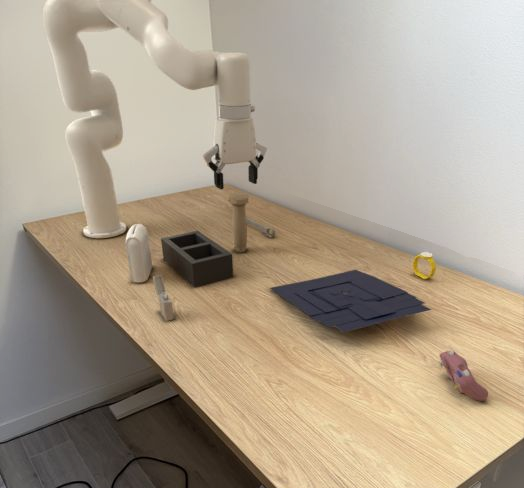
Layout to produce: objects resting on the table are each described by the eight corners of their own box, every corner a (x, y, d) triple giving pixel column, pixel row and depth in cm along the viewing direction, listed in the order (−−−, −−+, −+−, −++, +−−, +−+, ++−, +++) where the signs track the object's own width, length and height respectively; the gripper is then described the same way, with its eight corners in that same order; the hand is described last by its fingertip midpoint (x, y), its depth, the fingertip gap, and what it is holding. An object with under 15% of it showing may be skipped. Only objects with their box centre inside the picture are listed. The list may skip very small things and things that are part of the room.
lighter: (174, 319, 109) (169, 285, 105) (166, 321, 108) (161, 286, 104) (164, 305, 114) (159, 272, 110) (156, 306, 114) (152, 273, 110)
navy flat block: (335, 347, 96) (335, 330, 94) (269, 299, 121) (268, 284, 119) (438, 320, 104) (440, 303, 103) (356, 279, 129) (356, 265, 127)
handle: (244, 245, 144) (242, 191, 136) (253, 253, 139) (251, 198, 131) (228, 248, 142) (225, 194, 134) (236, 256, 137) (233, 200, 129)
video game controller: (442, 376, 93) (431, 348, 89) (466, 365, 92) (456, 337, 88) (465, 411, 85) (453, 382, 81) (491, 400, 84) (481, 370, 80)
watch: (408, 274, 126) (412, 251, 123) (416, 271, 127) (420, 248, 124) (427, 282, 122) (431, 259, 119) (435, 279, 123) (440, 256, 120)
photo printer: (137, 266, 133) (129, 219, 126) (153, 266, 133) (147, 219, 126) (130, 283, 124) (121, 234, 117) (147, 283, 124) (140, 234, 117)
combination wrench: (275, 227, 147) (238, 207, 160) (271, 228, 146) (235, 208, 160) (275, 239, 149) (238, 219, 162) (271, 240, 148) (235, 220, 162)
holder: (163, 259, 136) (160, 238, 133) (199, 251, 141) (197, 230, 137) (194, 287, 122) (192, 263, 119) (233, 276, 126) (232, 254, 123)
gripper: (257, 107, 128) (257, 177, 137) (194, 113, 121) (199, 186, 130) (273, 111, 123) (272, 184, 132) (208, 118, 115) (212, 194, 125)
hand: (236, 185), depth 131 cm, fingers open, 9 cm apart
